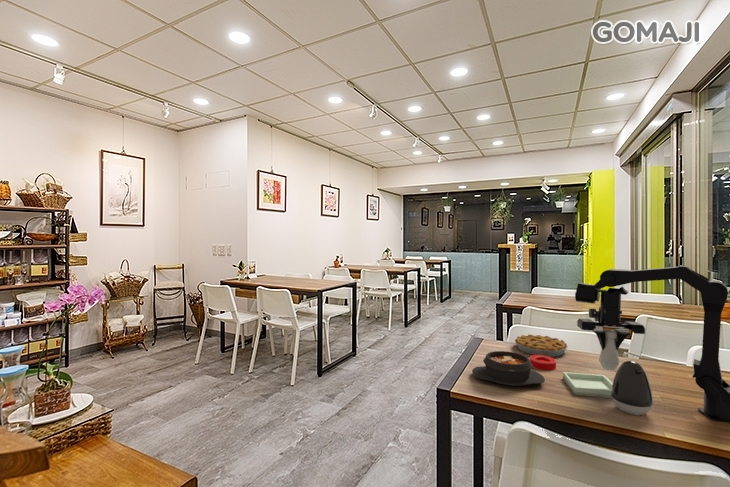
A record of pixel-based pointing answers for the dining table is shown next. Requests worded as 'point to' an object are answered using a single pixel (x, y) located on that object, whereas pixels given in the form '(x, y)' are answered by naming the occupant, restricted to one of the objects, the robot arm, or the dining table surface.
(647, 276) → the robot arm
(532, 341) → the pie
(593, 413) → the dining table surface
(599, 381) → the tray
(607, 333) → the salt shaker
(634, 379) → the dark grey egg shape
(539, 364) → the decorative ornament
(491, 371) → the casserole
